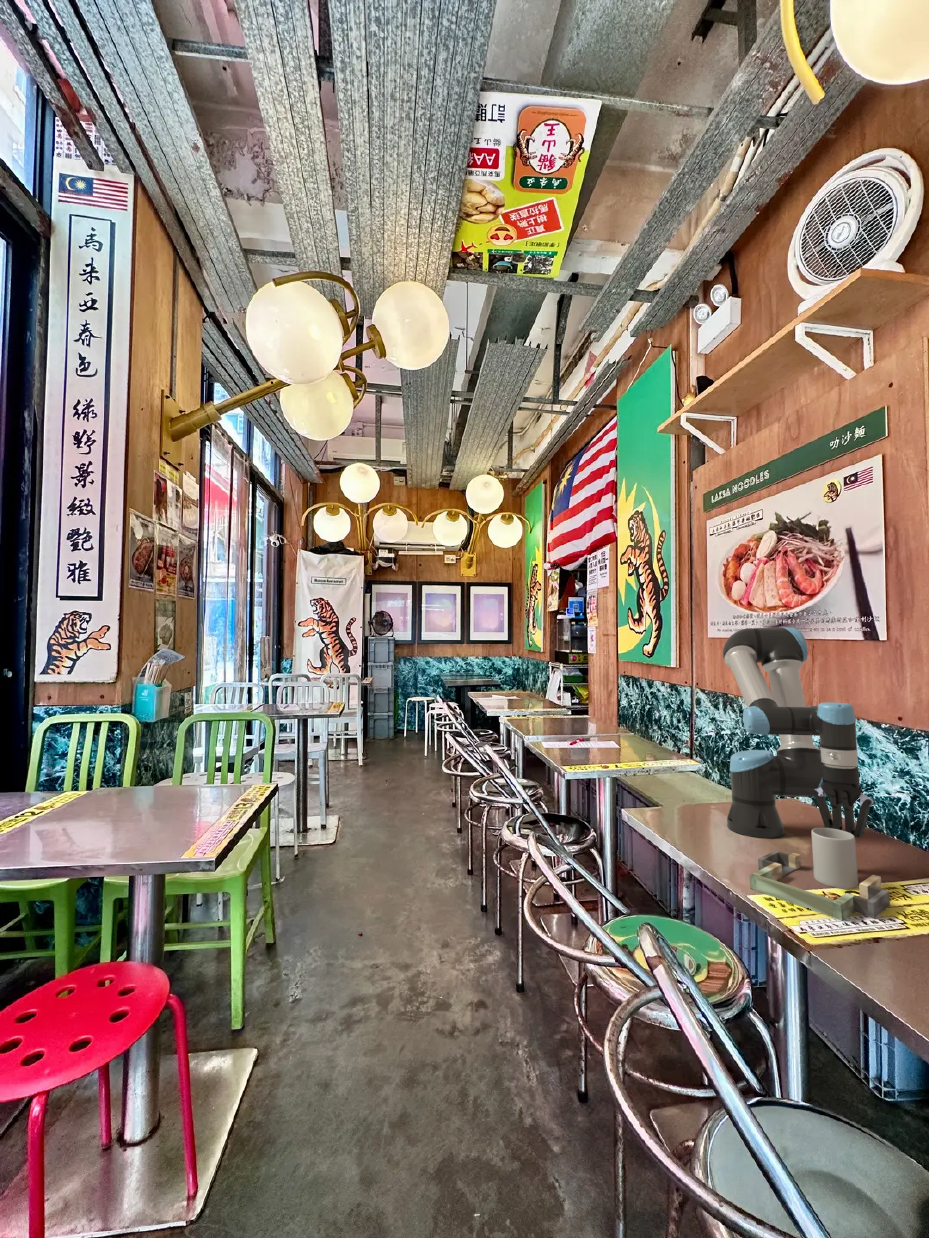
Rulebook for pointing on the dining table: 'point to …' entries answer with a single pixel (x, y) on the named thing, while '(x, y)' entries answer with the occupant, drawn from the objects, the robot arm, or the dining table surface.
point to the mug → (834, 858)
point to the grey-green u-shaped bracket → (782, 864)
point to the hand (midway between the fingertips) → (846, 862)
